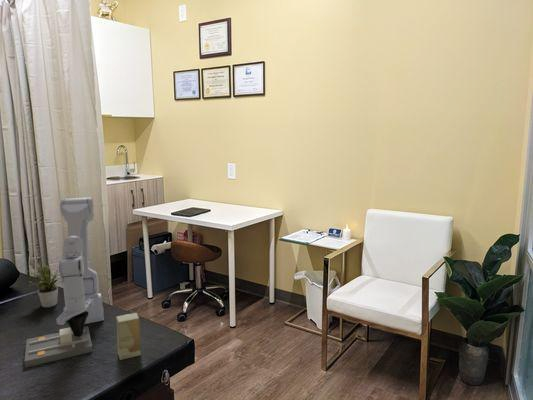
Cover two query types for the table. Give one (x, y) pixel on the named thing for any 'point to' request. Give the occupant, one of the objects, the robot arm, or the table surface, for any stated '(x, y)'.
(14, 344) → the table surface
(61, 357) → the panel
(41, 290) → the house plant
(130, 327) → the skincare box
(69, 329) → the block
